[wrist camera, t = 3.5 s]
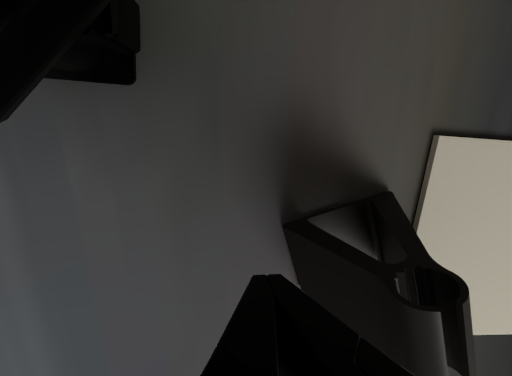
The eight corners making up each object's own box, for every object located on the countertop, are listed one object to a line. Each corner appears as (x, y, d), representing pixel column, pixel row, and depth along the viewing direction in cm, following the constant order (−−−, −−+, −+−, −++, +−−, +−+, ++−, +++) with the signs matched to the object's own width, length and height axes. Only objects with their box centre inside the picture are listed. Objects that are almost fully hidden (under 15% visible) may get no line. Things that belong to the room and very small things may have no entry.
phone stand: (389, 190, 23) (559, 272, 11) (399, 254, 24) (556, 383, 13) (281, 223, 22) (342, 342, 11) (299, 286, 24) (367, 447, 13)
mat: (388, 331, 26) (392, 336, 26) (433, 135, 22) (439, 135, 21) (539, 328, 28) (545, 333, 28) (609, 147, 24) (619, 148, 23)
